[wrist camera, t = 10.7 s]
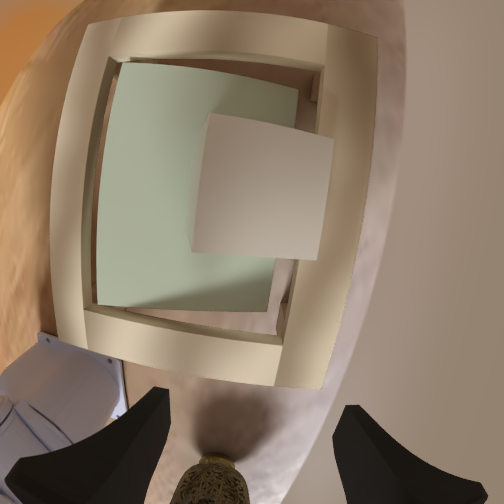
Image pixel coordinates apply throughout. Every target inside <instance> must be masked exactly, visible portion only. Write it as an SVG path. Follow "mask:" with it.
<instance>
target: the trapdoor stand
mask: <svg viewBox="0 0 504 504" xmlns="http://www.w3.org/2000/svg"><path fill="white" fill-rule="evenodd" d="M155 59H220V60H236V61H247V62H257V63H265V64H273V65H280V66H287V67H293V68H299V69H304V70H310V71H315V73H314V75H313V81H312V91H311V100H310V101H314V102H318V104H317V113H316V122H315V131H314V134H317V135H321V136H324V137H328V138H331V139H334V148H333V156H332V164H331V172H330V179H329V187H328V194H327V201H326V207H325V214H324V220H323V226H322V232H321V238H320V244H319V250H318V255H317V260H301V259H296V260H295V266H294V272H293V277H292V283H291V288H290V294H289V299H288V303H282V302H281V303H280V309H279V314H278V320H277V325H276V331H277V335H268V334H260V333H252V332H244V331H237V330H229V329H223V328H216V327H209V326H203V325H197V324H191V323H185V322H180V321H174V320H169V319H163V318H158V317H153V316H148V315H143V314H138V313H134V312H129V311H124V310H125V309H126V308H127V307H121V306H109V305H98V300H97V282H96V283H94V284H92V285H91V225H92V206H93V193H94V182H95V173H96V164H97V156H98V149H99V143H100V136H101V130H102V125H103V119H104V114H105V109H106V105H107V100H108V95H109V91H110V87H111V83H112V79H113V78H114V79H115V80H117V81H118V78H119V74H120V70H121V67H122V63H123V62H126V63H149V64H158V63H157V62H156V61H155ZM377 61H378V48H377V37H374V36H371V35H367V34H364V33H361V32H357V31H354V30H350V29H347V28H343V27H339V26H335V25H331V24H326V23H322V22H317V21H312V20H307V19H301V18H296V17H289V16H282V15H275V14H266V13H257V12H244V11H223V10H193V11H172V12H160V13H150V14H141V15H134V16H127V17H121V18H116V19H110V20H105V21H100V22H96V23H91V24H88V26H87V29H86V32H85V34H84V37H83V40H82V43H81V45H80V48H79V51H78V54H77V57H76V61H75V64H74V67H73V70H72V74H71V77H70V81H69V85H68V89H67V93H66V97H65V101H64V105H63V110H62V115H61V120H60V125H59V131H58V136H57V143H56V150H55V157H54V165H53V174H52V186H51V200H50V269H51V284H52V295H53V304H54V312H55V320H56V327H57V333H58V339H59V340H60V341H63V342H66V343H69V344H72V345H75V346H78V347H81V348H84V349H87V350H90V351H94V352H97V353H100V354H104V355H107V356H111V357H114V358H118V359H122V360H125V361H129V362H133V363H137V364H141V365H145V366H150V367H154V368H158V369H163V370H168V371H173V372H178V373H183V374H188V375H193V376H199V377H205V378H211V379H218V380H224V381H232V382H239V383H247V384H256V385H266V386H277V387H290V388H307V389H321V387H322V384H323V380H324V377H325V374H326V371H327V368H328V365H329V361H330V358H331V355H332V352H333V348H334V345H335V341H336V338H337V334H338V330H339V327H340V323H341V319H342V315H343V312H344V308H345V304H346V300H347V295H348V291H349V287H350V283H351V278H352V274H353V269H354V264H355V260H356V255H357V250H358V244H359V239H360V234H361V228H362V223H363V217H364V210H365V204H366V198H367V191H368V183H369V176H370V168H371V159H372V150H373V139H374V128H375V114H376V97H377Z"/></svg>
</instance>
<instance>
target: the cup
mask: <svg viewBox="0 0 504 504" xmlns="http://www.w3.org/2000/svg"><path fill="white" fill-rule="evenodd" d="M170 504H250V500H249V493H248V488H247V484H246V481H245V479H244V478H243V476H242V475H241V474H240V473H239V472H238V471H237V470H235V465H234V463H233V461H232V460H231V459H230V458H229V457H227V456H225V455H222V454H217V453H212V454H207V455H205V456H203V457H202V458H201V459H200V461H199V464H196V465H194V466H192V467H190V468H189V469H188V470H187V471H186V472H185V473H184V474H183V476H182V478H181V479H180V481H179V483H178V485H177V488H176V490H175V492H174V495H173V497H172V500H171V502H170Z"/></svg>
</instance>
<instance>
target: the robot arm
mask: <svg viewBox="0 0 504 504" xmlns="http://www.w3.org/2000/svg"><path fill="white" fill-rule="evenodd" d="M37 336H38V341H39V342H37V343H36V344H35V345H34V346H32V347H31V348H30V349H29V350H27V351H26V352H25V353H24V354H22V355H21V356H20V357H19V358H18V359H16V360H15V361H14V362H13V363H12V364H10V365H9V366H8V367H7V368H6V369H5V370H4V371H3V372H2V374H1V376H0V504H144V501H145V497H146V493H147V489H148V486H149V483H150V481H151V478H152V476H153V473H154V471H155V468H156V466H157V463H158V461H159V459H160V456H161V454H162V451H163V449H164V446H165V444H166V440H167V436H168V433H169V429H170V424H171V417H170V398H169V389H164V388H160V387H153V388H152V389H151V390H150V391H149V392H148V393H147V394H146V395H144V396H143V397H142V398H141V399H140V400H139V401H138V402H137V403H136V404H135V405H133V406H132V407H131V408H130V409H129V410H128V408H127V402H126V395H125V388H124V380H123V371H122V362H121V359H118V358H114V357H111V356H107V355H104V354H100V353H97V352H94V351H90V350H87V349H84V348H81V347H78V346H75V345H72V344H69V343H66V342H63V341H60V340H59V339H58V337H55V336H52V335H49V334H47V333H44V332H41V331H40V332H39V333H38V334H37ZM109 359H111V360H112V361H110V360H109ZM110 417H111V418H114V419H116V420H115V421H113V422H112V423H110V424H109V425H108V426H106V424H107V422H108V421H109V419H110ZM105 426H106V427H105ZM104 427H105V428H104ZM332 439H333V448H334V454H335V459H336V463H337V467H338V470H339V474H340V477H341V481H342V484H343V488H344V492H345V495H346V500H347V504H484V503H485V501H486V500H487V498H488V494H487V493H486V491H485V489H484V488H483V486H482V484H481V483H480V482H475V481H471V480H467V479H463V478H460V477H457V476H454V475H452V474H449V473H447V472H444V471H442V470H440V469H438V468H436V467H434V466H432V465H430V464H428V463H426V462H424V461H423V460H421V459H420V458H418V457H417V456H415V455H414V454H412V453H411V452H409V451H408V450H407V449H406V448H404V447H403V446H402V445H401V444H399V443H398V442H397V441H396V440H395V439H393V438H392V437H391V436H390V435H389V434H388V433H387V432H386V431H385V430H384V429H383V428H382V427H380V426H379V425H378V423H377V422H376V421H375V420H374V419H372V417H371V416H370V415H369V414H368V413H367V412H366V411H365V410H364V409H363V408H362V407H361V406H360V405H346V406H345V408H344V411H343V413H342V416H341V418H340V420H339V423H338V425H337V427H336V429H335V432H334V434H333V436H332Z"/></svg>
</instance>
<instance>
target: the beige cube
mask: <svg viewBox="0 0 504 504" xmlns="http://www.w3.org/2000/svg"><path fill="white" fill-rule="evenodd" d="M333 148H334V139H331V138H328V137H324V136H321V135H317V134H313V133H309V132H305V131H301V130H297V129H293V128H289V127H285V126H280V125H276V124H271V123H266V122H261V121H256V120H251V119H246V118H240V117H234V116H228V115H222V114H215V113H209V115H208V116H207V118H206V119H205V121H204V122H203V124H202V126H201V127H200V129H199V130H198V132H197V134H196V138H195V145H194V152H193V159H192V167H191V174H190V182H189V190H188V199H187V208H186V218H185V228H184V230H185V233H186V236H187V239H188V242H189V245H190V248H191V251H192V253H207V254H222V255H238V256H253V257H269V258H285V259H301V260H317V255H318V250H319V244H320V238H321V232H322V226H323V220H324V214H325V207H326V201H327V194H328V187H329V179H330V172H331V164H332V156H333Z"/></svg>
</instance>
